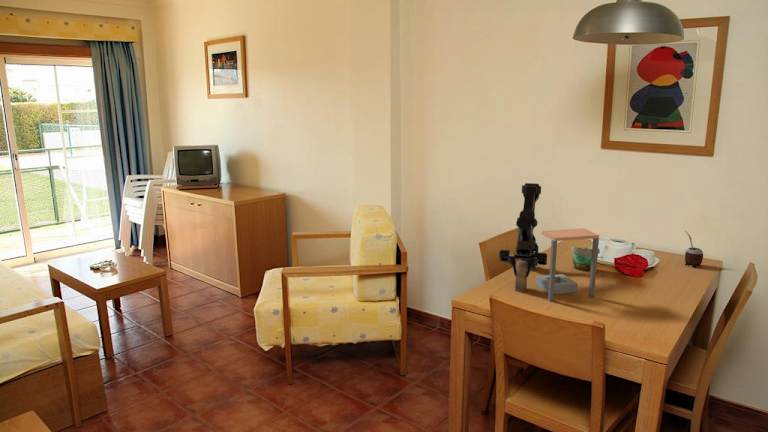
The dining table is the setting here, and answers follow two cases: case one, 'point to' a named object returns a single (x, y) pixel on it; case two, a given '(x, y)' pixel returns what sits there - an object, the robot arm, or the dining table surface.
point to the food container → (582, 258)
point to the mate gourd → (693, 255)
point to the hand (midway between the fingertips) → (521, 275)
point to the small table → (560, 281)
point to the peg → (521, 276)
